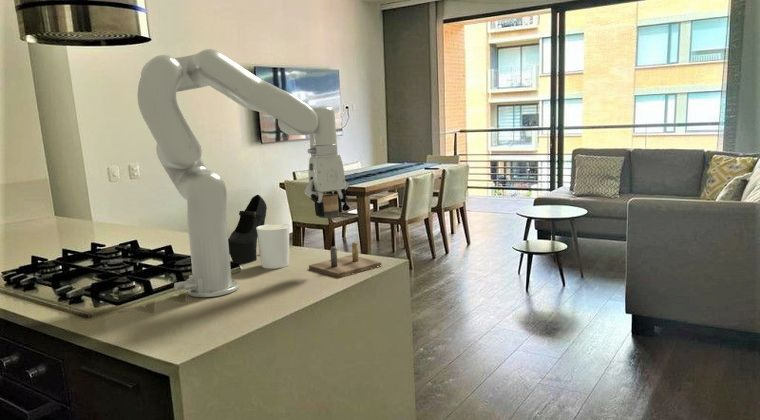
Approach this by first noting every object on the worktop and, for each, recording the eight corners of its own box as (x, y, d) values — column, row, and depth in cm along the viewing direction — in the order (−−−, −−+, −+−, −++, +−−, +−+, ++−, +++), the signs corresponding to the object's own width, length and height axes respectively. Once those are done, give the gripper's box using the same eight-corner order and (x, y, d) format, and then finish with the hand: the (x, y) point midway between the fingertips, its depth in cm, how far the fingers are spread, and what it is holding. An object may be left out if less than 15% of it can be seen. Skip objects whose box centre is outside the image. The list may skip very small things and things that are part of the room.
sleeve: (327, 218, 154) (325, 197, 153) (315, 216, 158) (313, 196, 157) (342, 215, 158) (341, 194, 157) (330, 213, 162) (329, 193, 161)
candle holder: (284, 269, 161) (282, 229, 159) (253, 269, 163) (250, 229, 161) (296, 261, 171) (293, 223, 169) (266, 261, 173) (264, 223, 171)
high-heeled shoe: (222, 265, 169) (216, 201, 166) (257, 251, 186) (253, 193, 183) (243, 267, 166) (238, 202, 163) (277, 253, 183) (273, 193, 180)
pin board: (338, 277, 151) (337, 252, 150) (309, 269, 161) (307, 245, 160) (381, 266, 161) (380, 242, 160) (351, 258, 171) (350, 236, 170)
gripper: (306, 154, 146) (312, 220, 149) (355, 148, 158) (360, 210, 161) (291, 154, 152) (296, 218, 155) (339, 148, 163) (344, 208, 166)
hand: (329, 213), depth 158 cm, fingers closed on sleeve, 5 cm apart
